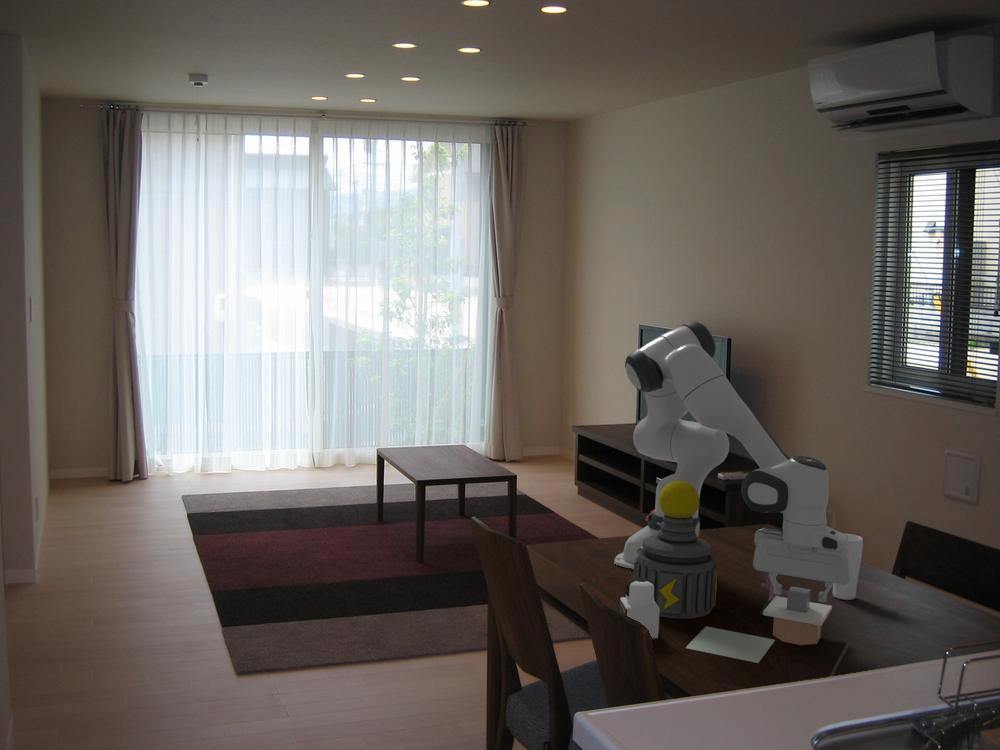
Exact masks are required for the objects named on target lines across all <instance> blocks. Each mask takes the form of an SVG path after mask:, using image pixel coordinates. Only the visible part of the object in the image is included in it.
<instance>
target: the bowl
mask: <svg viewBox="0 0 1000 750" xmlns="http://www.w3.org/2000/svg"><path fill="white" fill-rule="evenodd" d="M772 624H773V625H772V628H773V629H772V636H773V637H775V638H777V639H778V640H780V641H781V642H783V643H787V644H788V643H789V644H792V645H793V644H794V645H799V646H805V645H817V644H818V642H819V640H821V638H822V637H821V634H822V626H820V625H814V624H809V623H803V622H798V621H793V620H787V619H782V618H776V617H773V623H772Z"/></svg>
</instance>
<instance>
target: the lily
mask: <svg viewBox="0 0 1000 750" xmlns="http://www.w3.org/2000/svg"><path fill="white" fill-rule="evenodd" d="M761 573H762V575H763V576H764V577H765V578H764V579H765V580H766V582H767V583H766V582H762V583H760V586H761V587H763V588H764V589H766V590H767V591H768V596H769V597H768V600H767V601H765V602H766V603H765V604H764V605H763V607H762V609H761V611H760V615H763V611H764V610H765V609H766V607H767V606H768V605H767V604H769V603H770V602H771V601H772V600H773V599H774V598H775V597H776V596H779V597H785V598H787V595H788V590H785V589H784V588H781V589H782V592H781V594H775V593H773V588H774V585H773V584H772V582H771V580H770V578H769V573H768V572H764V571H761ZM777 582H778V584H780V583H779V581H778V580H777Z"/></svg>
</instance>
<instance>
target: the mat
mask: <svg viewBox="0 0 1000 750" xmlns="http://www.w3.org/2000/svg"><path fill="white" fill-rule="evenodd" d="M775 641H776V639H772V638H768V637H763V636H758V635H752V634H747V633H742V632H737V631H733V630H732V631H731V630H727V629H722V628H716V627H712V626H707V625H706V626H705V627H704V628H703V629H702V630H700V631H699V633H698V634H697V635H696V636H695V637H693V639H692V640H691V641H690V642H689V643H688V645H687V646H686V647H685V649H688V650H691V651H692V650H693V651H698V652H703V653H707V654H713V655H717V656H722V657H726V658H727V657H728V658H732V659H735V660H741V661H747V662H751V663H756V664H759V663H760V661H761V660H762V659H763V657H764V656H765V655H766V653H767V652H768V651H769V649H770V648H771V647H772V645H773V644H774V642H775Z"/></svg>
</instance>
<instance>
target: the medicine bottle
mask: <svg viewBox="0 0 1000 750" xmlns="http://www.w3.org/2000/svg"><path fill="white" fill-rule="evenodd" d="M654 593H655V584H654V582H653V581H651V580H649V579H646V578H634V577H633V578H630V579H628V580H627V581H626V584H625V597H624V596H622V597H619V598H620V599H619V611H620V612H621V613H623V614H625V615H626V616H628V617H630V618H632V619H634V620H636V621H638V622H640V623H641V624H642V625H644V626H645V627H646V628H647V629H648V630H649V633H650V635H651V637H652V638H651V639H658V638H659V628H660V616H659V611H660V609H659V607H658V606H657V604H656V603H655V601H654Z"/></svg>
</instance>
